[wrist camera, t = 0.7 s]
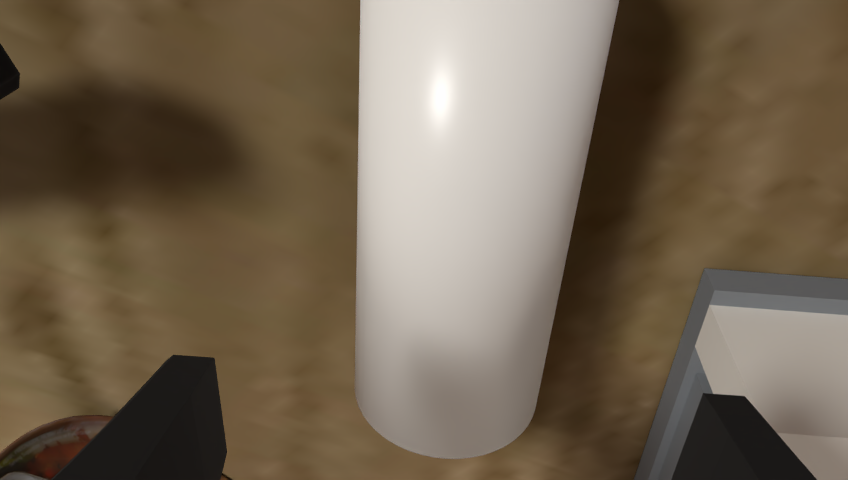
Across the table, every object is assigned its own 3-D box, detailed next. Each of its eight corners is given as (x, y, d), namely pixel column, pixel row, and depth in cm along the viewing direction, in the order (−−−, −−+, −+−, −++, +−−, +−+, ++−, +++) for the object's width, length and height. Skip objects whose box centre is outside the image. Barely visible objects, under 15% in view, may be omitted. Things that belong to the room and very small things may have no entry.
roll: (606, -98, 16) (662, -41, 12) (527, 334, 23) (545, 467, 19) (373, -115, 16) (347, -64, 12) (363, 324, 23) (344, 455, 19)
